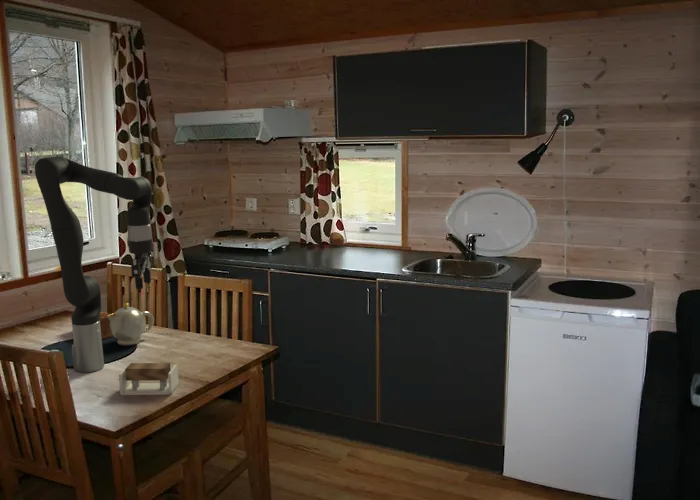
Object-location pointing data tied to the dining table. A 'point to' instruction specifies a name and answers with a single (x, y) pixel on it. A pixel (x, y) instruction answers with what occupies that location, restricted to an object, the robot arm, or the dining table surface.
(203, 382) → the dining table surface
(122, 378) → the shelf frame
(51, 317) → the dining table surface
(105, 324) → the bread
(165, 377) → the brown rectangular block
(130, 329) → the teapot
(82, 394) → the dining table surface
